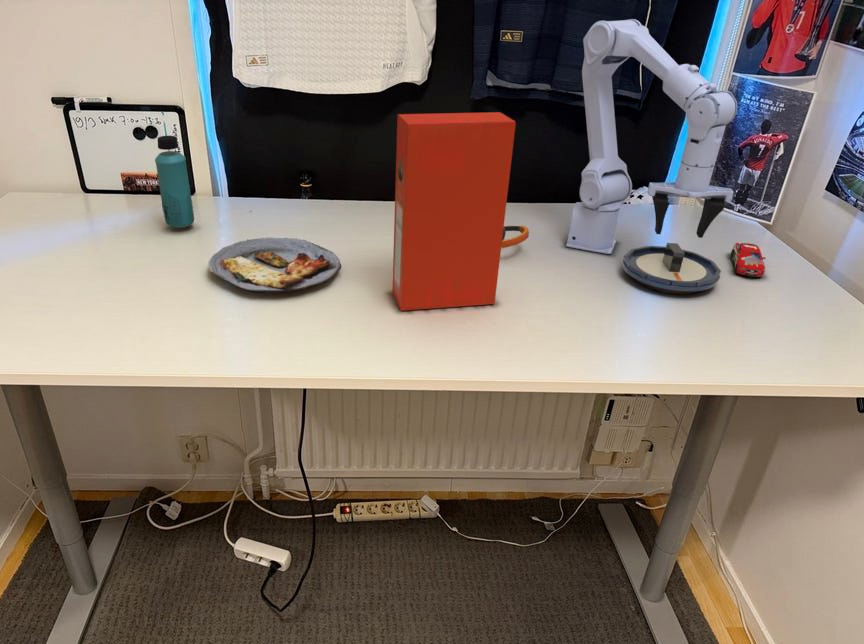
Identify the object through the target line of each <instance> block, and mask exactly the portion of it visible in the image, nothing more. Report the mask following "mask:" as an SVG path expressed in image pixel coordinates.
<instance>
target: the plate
mask: <svg viewBox="0 0 864 644" xmlns="http://www.w3.org/2000/svg"><path fill="white" fill-rule="evenodd" d="M621 266H622V269H623V271H624V272H625V273H626V274H627V275H629V276H630V277H631V278H632V279H635V280H636V279H637V280H639V281H641V282H643V283H646V284H649V285H652V286H655V287H659V288H663V289H669V290H676V291H697V292H699V291H700V292H701V291H706V290H710V289H712V288H714V287H716V286H717V285H718V284H719V282H720V280H721V273H722V271H721V269H720V267H718V265H717V264H716V262H715V261H713V260H711V259H710V258H708V257H705V256H703V255H701V254H699V253H697V252H695V251H690V250H687V249H682V247H680V245H679V243H674V242H667V243H666V246H660V245H659V246H658V245H646V246H641V247H635V248H631V249H630V250H628V252H627V253H625V255H624V256H623V258H622V263H621ZM637 280H636V281H637Z"/></svg>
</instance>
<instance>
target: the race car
mask: <svg viewBox="0 0 864 644" xmlns="http://www.w3.org/2000/svg"><path fill="white" fill-rule="evenodd" d="M766 258H767V257H765V256H763V254H762V251H761V250H760V247H759V245H757V244H754V243H751V242H743V241H737V242H736V243H735V244H734V245H733V247H732V249H731V252H730V259H731V262H732V263H733V264H732V265H733V268H734V274H739V275H741V276H746V277H753V278H754V277H755V278H759V277H760V278H762V277H763V276H764V275H765V272H766V265H765V262H764V260H766Z"/></svg>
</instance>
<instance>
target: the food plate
mask: <svg viewBox="0 0 864 644" xmlns="http://www.w3.org/2000/svg"><path fill="white" fill-rule="evenodd" d="M208 267H209V271H210V272H211V273H213V274H215V275H216V276H218V277H219V278H221V279H223V280H224V281H227V282H229V283H231V284H232V285H234V286H235V287H236V286H237V287H238V288H241V289H242V290H247V291H250V292H254V293H287V292H297V291H301V290H303V289H308V288H310V287H314V286H318V285H319V284H324V283H327V282H328V281H330V280H331V279H333V278H334V277H335V276H336V275H337V273H339V271H340V270H341V268H342V264H341V259H340V258H339V257H338V256H337V254H336V253H335V252H334V251H332V250H328V249H327V248H325V247H323V246H320V245H318V244H316V243H314V242H310V241H308V240H306V239H301V238H297V237H296V238H295V237H259V238H251V239H246V240H240V241H238V242H235V243H232V244H230V245H226V246H223V247H222V248H221V249H220V250H218V251H217V252H215V253H213V254H212V255H211V257H210V258H209V260H208Z"/></svg>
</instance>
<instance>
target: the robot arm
mask: <svg viewBox="0 0 864 644" xmlns="http://www.w3.org/2000/svg"><path fill="white" fill-rule="evenodd" d="M582 41H583V50H584V53H583V54H584V57H583V63H582V69H581V76H582V77H581V78H582V89H583V100H584V110H585V118H586V119H585V121H586V132H587V142H588V155H589V162H588V163H587V165H586V166H585V168H583V170H582V172H581V174H580V175H581V181H580V182H581V183H580V186H579V199H580V200H581V201H579V202H578V201H576V202H575V204H574V207H573V210H572V213H571V219H570V223H569V228H568V234H567V235H568V236H567V241H566V244H565V247H567V248H571V249H577V250H583V251H588V252H594V253H600V254H605V255H611V254H612V253H613V250H614V248H615V246H616V243H617V240H616V239H615V234H616V229H617V225H618V219H619V215H620V211H621V207H622V206H623V204H624V202H625V201H626V200H627V199H628V198H629V197H630V195H631V194H632V191H633V183H632V179H631V177H630V175H629V173H628V172H629V171H628V165H627V164H626V162H624V160H622V159H621V158H620V156H619V154H618V153H619V151H618V140H617V138H618V137H617V129H616V127H617V126H616V116H615V104H614V103H615V101H614V92H613V91H614V90H613V79H612V77H613V75H614V74H615V72H616V71H617V69H618V68H619V67H620V65H622V64H623V63H624V62H626V61H627V60H628V59H629V58H630V57H631V58H634V59H635V60H636V61H638V62H639V63H640V64H642V65H643V66H644V67H646V68H647V69H648V70H650V71H651V73H653V74H654V75H656V76H657V77H658V78H659V79H660V80H661V81H662V91H663V92H664V93H665V94H666V95H667V96H668V97H669V98H670V99H671V100H672V101H673V102H674V103H675V104H677V106H678V107H680V109H682V110H683V111H684V112H685V119H686V122H687V132H686V134H687V135H686V140H685V144H684V148H683V152H682V155H681V158H680V159H681V160H680V163H679V167H678V170H677V175H676V179H675V181H673V182H672V181H670V182H669V181H668V182H649V184H648V187H647V192H646V193H647V195H648V196H649V197H651V198H652V202H653V207H654V216H655V225H654V232H655V234H656V235H661V233H662V231H663V227H664V221H665V217H666V215H667V211H668V210H669V206H670V202H669V197H676V198H690V199H703V206H702V211H701V216H700V220H699V222H698V225H697V228H696V233H695V234H696V237H697V238H699V239H702V238H703V237H704V235H705V233H706V232H707V230H708V228H709V227H710V226H711V224H712V222H713V221H714V220H715V219H716V218H717V216H719V215H720V214H721V212H722V211H724V210H725V207H726V203H725V202H728V203H731V202H732V199H733V195H734V190H733V189H732V188H730V187H722V186H715V185H710V183H711V181H712V180H711V179H712V177H713V173H714V169H715V165H716V162H717V159H718V155H719V152H720V149H721V148H720V147H721V144H722V141H723V137H724V135H725V134H724V133H725V130H726V127H727V125H728V124H729V123H731V122H732V121H733V120H734V119H735V118H736V115H737V112H738V102H737V99H736V97H735V96H734V95H733V93H732V92H731V91H729V90H718V89H717V88H718V86H717V84H715V83H714V82H712V83H711V82H709V81H708V80H707V79H706V78H705V77H704V76H702V74H701V73H700V72H699V71H700V67H698V66H697V65H696V64H690V63H683V64H678V63H677V62H676V61H675V59H674V58H672V57H671V55H670V54H669V53H668V52H667V51H666V50H665V49H664V48H663V47H662V46H661V45H660V44H659V43H658V42H657V41H656V40H655V38H653V37H652V35H651V34H650V32H649V28H648V27H646V26H645V25H643V24H642V23H641V21H639V20H637V19H635V18H630V19H624V20H598V21H596V22H595V23H593V24H592V25H591V27H590V28H589V30H588V31H587V32H586V34H585V35H584V37H583V38H582Z"/></svg>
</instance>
